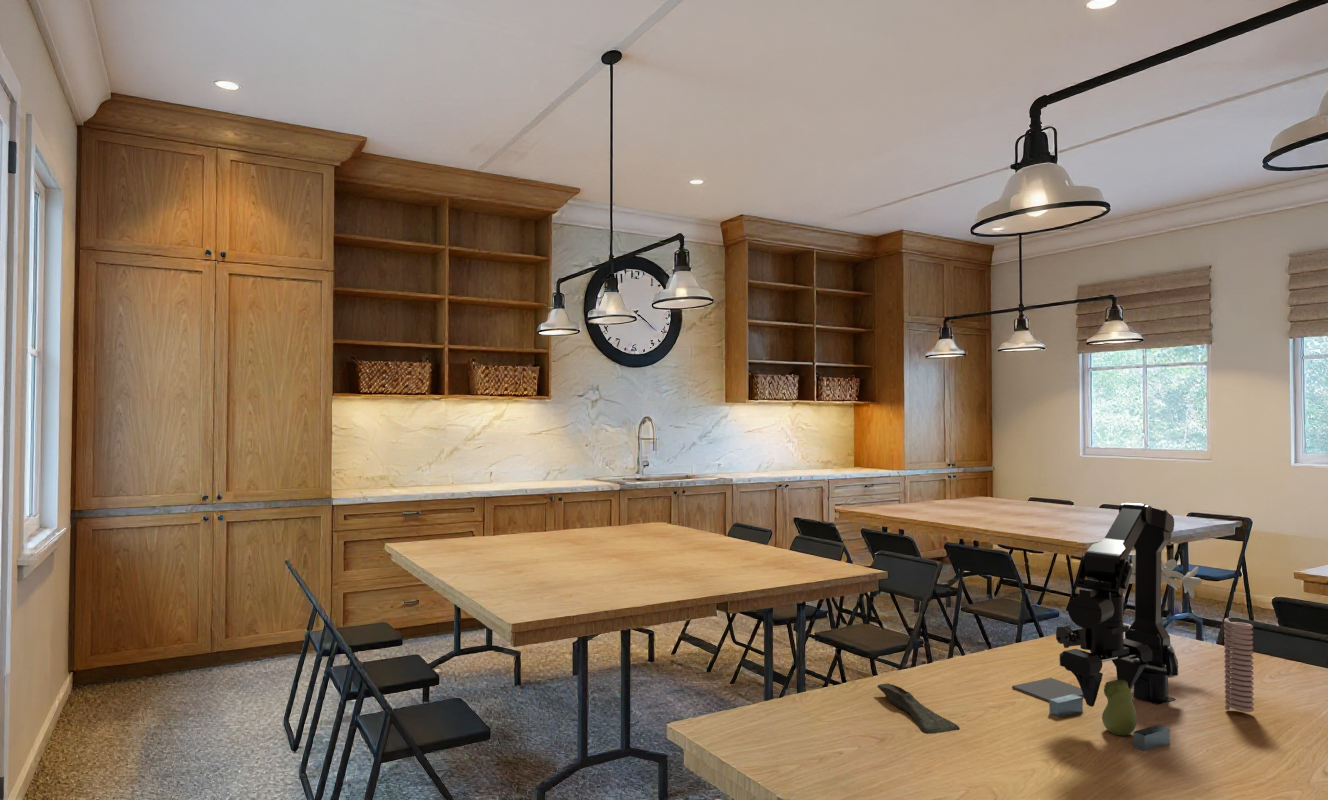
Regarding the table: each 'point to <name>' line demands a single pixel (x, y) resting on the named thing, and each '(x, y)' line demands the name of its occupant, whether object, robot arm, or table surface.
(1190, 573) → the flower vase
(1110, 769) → the table surface
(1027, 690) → the mat
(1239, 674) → the coil
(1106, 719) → the pear
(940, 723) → the tool
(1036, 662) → the table surface
